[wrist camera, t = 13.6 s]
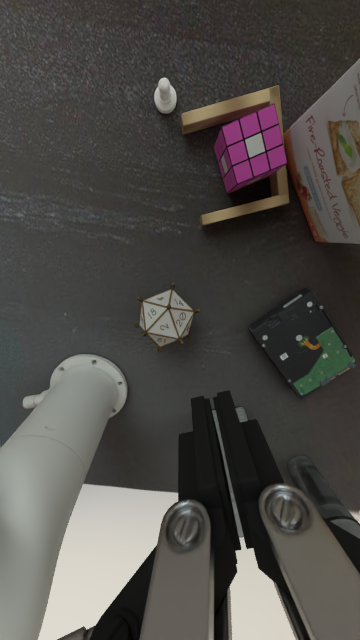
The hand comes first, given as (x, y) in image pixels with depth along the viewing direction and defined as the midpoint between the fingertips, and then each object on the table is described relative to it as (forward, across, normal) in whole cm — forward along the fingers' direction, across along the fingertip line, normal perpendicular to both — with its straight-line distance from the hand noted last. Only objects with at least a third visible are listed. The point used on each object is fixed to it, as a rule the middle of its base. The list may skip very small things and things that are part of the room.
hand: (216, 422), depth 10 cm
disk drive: (+27, -15, +12) cm, 33 cm away
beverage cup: (+27, -13, +38) cm, 49 cm away
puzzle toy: (+27, -10, -15) cm, 33 cm away
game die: (+27, +4, +2) cm, 28 cm away
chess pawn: (+27, -2, -23) cm, 36 cm away
